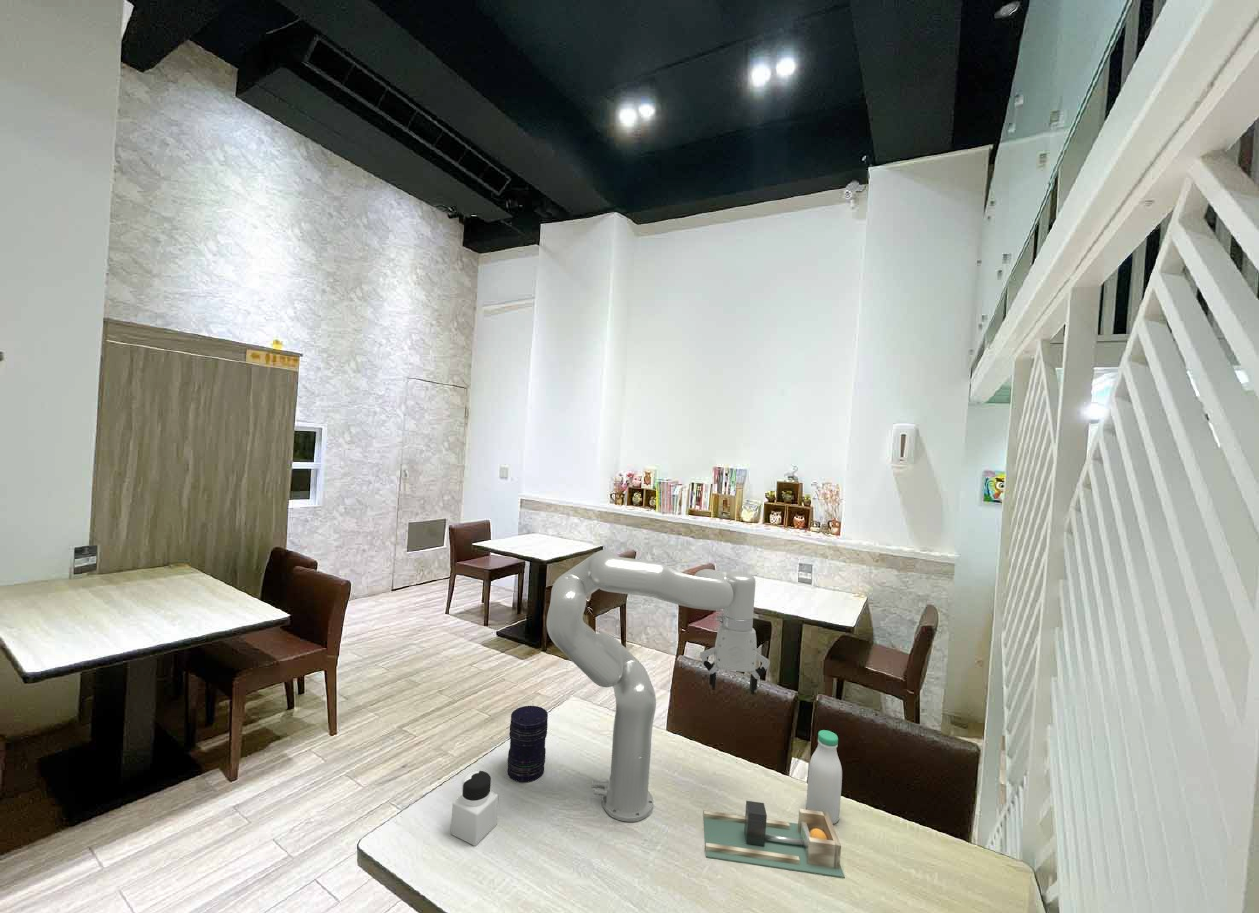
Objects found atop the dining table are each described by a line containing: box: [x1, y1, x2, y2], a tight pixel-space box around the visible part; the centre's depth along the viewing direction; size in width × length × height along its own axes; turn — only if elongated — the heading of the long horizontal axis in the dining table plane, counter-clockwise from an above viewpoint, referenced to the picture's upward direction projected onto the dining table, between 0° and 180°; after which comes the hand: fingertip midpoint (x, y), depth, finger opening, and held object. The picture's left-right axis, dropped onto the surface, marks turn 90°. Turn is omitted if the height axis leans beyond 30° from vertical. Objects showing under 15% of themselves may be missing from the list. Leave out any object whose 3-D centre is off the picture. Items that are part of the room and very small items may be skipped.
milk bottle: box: [805, 729, 843, 825], centre depth 125 cm, size 8×8×20 cm
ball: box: [810, 828, 827, 840], centre depth 113 cm, size 4×4×4 cm
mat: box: [702, 810, 846, 879], centre depth 115 cm, size 29×14×1 cm, turn 84°
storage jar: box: [507, 705, 549, 784], centre depth 134 cm, size 10×10×15 cm
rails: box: [703, 810, 800, 864], centre depth 115 cm, size 20×11×1 cm, turn 84°
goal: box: [797, 808, 842, 869], centre depth 113 cm, size 6×10×5 cm, turn 174°
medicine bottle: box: [450, 770, 499, 847], centre depth 112 cm, size 7×7×12 cm
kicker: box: [744, 800, 811, 854], centre depth 114 cm, size 14×6×7 cm, turn 84°
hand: (732, 689), depth 127 cm, fingers open, 9 cm apart
